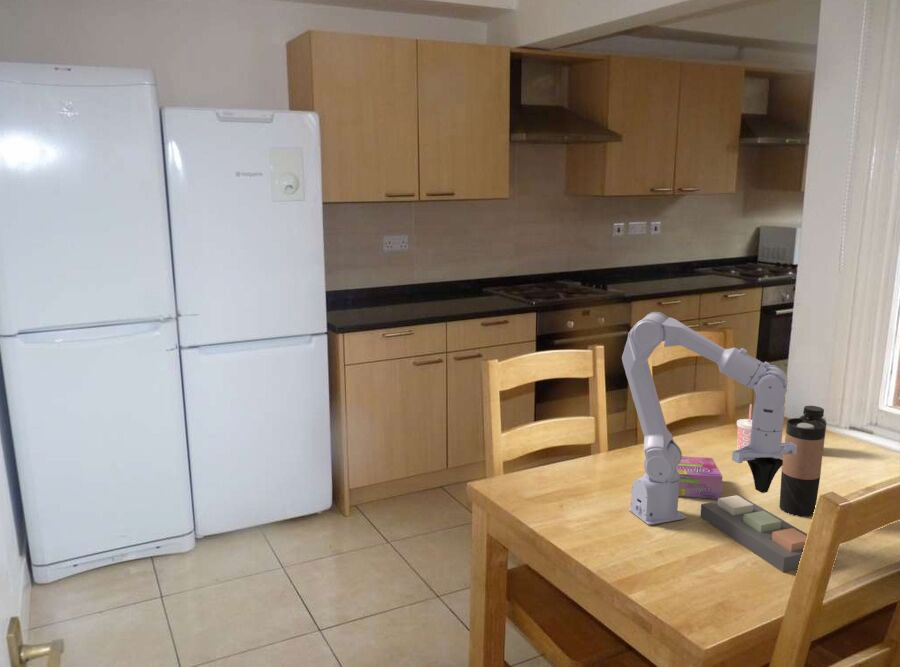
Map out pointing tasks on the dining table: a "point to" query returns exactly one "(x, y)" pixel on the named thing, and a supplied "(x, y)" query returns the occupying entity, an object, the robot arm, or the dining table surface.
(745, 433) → the beverage cup
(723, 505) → the cream button
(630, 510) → the robot arm
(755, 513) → the sage button
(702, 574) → the dining table surface
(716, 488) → the box
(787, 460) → the travel mug
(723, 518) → the console
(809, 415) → the supplement bottle
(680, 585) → the dining table surface
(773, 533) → the terracotta button
